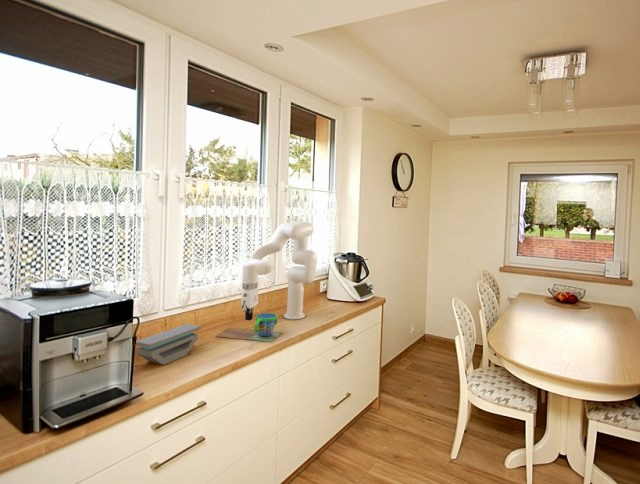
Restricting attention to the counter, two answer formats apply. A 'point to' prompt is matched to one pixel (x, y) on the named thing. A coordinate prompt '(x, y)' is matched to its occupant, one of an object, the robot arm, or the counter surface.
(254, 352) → the counter surface
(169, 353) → the sharpening stone
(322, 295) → the counter surface
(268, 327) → the snack cup
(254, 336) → the placemat
